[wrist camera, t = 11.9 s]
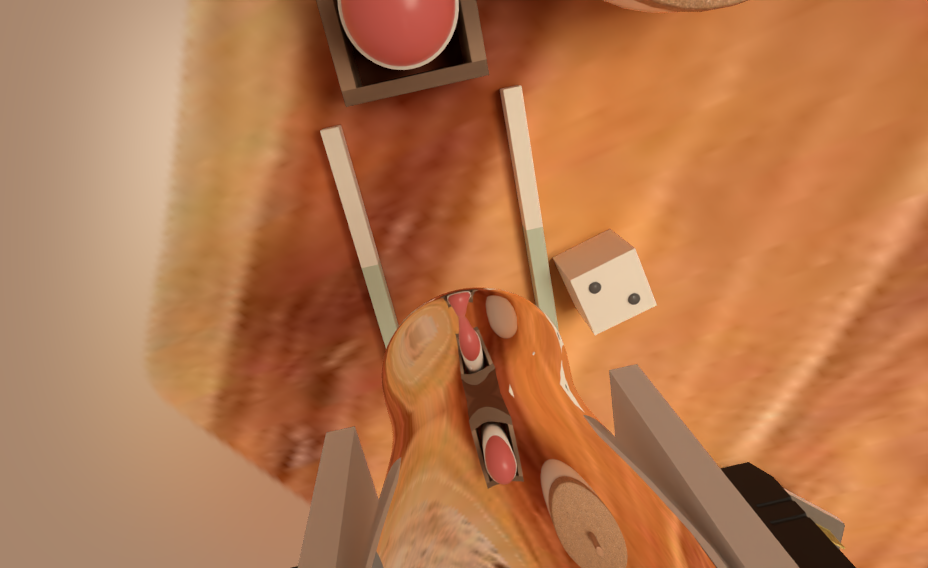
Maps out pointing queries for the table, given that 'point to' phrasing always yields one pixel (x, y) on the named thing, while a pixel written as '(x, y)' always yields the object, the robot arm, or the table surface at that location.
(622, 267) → the die
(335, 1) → the button housing
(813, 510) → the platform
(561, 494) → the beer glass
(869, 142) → the table surface
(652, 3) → the lidded bowl
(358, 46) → the dome button
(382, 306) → the track
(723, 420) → the table surface
